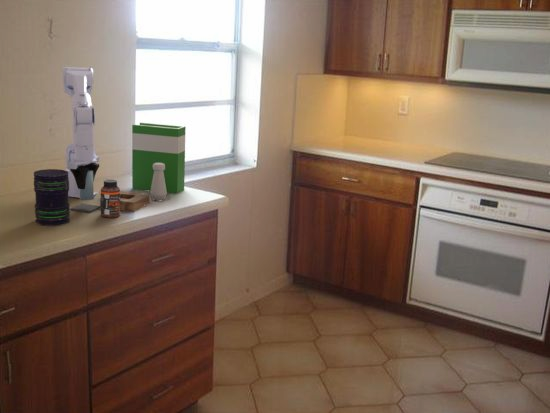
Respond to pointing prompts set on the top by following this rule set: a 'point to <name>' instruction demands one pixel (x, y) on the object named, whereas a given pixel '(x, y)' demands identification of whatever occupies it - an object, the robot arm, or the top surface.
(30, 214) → the top surface
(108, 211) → the supplement bottle
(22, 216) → the top surface
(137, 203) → the holder
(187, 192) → the top surface
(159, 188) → the salt shaker
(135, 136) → the green cereal box
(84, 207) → the mat
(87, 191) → the peg
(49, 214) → the storage jar
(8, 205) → the top surface
